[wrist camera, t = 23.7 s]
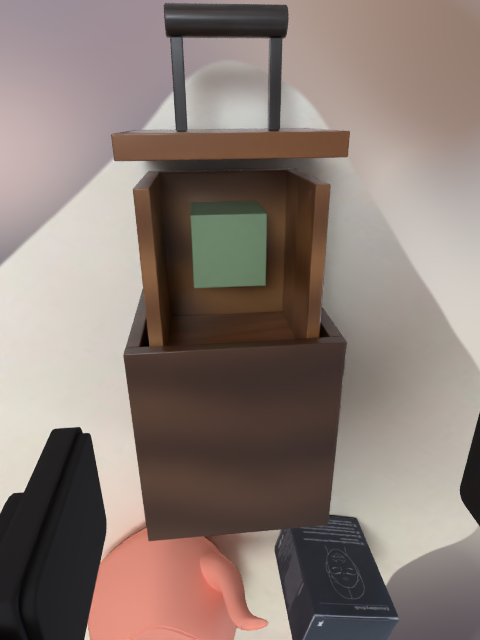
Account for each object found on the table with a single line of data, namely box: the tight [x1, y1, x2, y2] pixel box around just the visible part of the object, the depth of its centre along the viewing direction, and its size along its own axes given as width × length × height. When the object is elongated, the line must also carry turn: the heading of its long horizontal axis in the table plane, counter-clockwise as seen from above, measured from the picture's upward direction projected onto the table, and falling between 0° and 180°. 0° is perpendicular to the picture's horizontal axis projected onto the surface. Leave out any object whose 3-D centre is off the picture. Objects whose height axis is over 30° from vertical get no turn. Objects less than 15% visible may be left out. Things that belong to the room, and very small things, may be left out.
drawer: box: [111, 3, 350, 347], centre depth 26 cm, size 19×11×9 cm, turn 0°
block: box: [190, 201, 267, 288], centre depth 29 cm, size 4×4×4 cm
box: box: [275, 516, 399, 640], centre depth 42 cm, size 8×6×11 cm
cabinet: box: [124, 290, 347, 541], centre depth 32 cm, size 15×13×11 cm
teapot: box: [88, 528, 268, 640], centre depth 40 cm, size 13×20×12 cm, turn 129°
